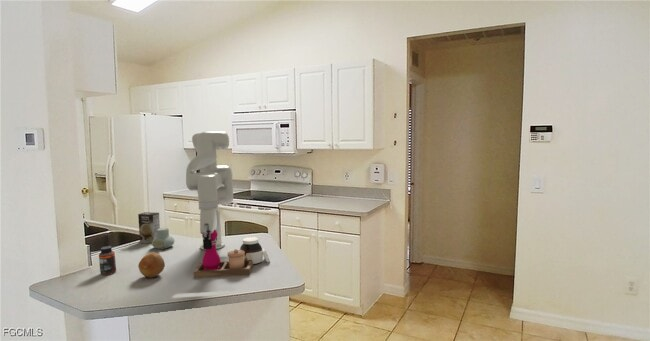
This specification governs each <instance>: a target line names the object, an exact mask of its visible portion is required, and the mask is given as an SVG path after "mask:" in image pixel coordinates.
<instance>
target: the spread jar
mask: <svg viewBox="0 0 650 341" xmlns="http://www.w3.org/2000/svg"><path fill="white" fill-rule="evenodd" d="M239 250H243V251H245V254H244V260H252V263H253V266H256V265H259V264H261V263H262V262H263V261H264V260H265V261H266V263H270V262H271V260H270V258H269V254H268V253H267V251H266V249H265V248H262V246H261V244H260V243H259V238H258V237H255V236H251V237H245V238H243V239H242V244H241V245H240V248H239ZM263 259H264V260H263Z"/></svg>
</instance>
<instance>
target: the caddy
mask: <svg viewBox="0 0 650 341" xmlns="http://www.w3.org/2000/svg"><path fill="white" fill-rule="evenodd" d="M244 263H245V268H239V269H229V260H228V261H226V260H225V261H220V264H219V265H218V266H219V267H220V270H204V268H205V267H204V266H203V264H202V262H200V263H199V264H198V265H197V267H195V269H194V271H193V278H194V279H198V278H217V277H234V276H235V277H237V276H250V275H251V271H252V268H253V266H254V265H253V263H252V260H244Z"/></svg>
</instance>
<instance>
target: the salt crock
mask: <svg viewBox="0 0 650 341" xmlns="http://www.w3.org/2000/svg"><path fill="white" fill-rule="evenodd" d="M244 254H245V251H243V250H240V249H234V250H231V251H228V252H227V257H228V261H229V269H239V268H245V263H244Z"/></svg>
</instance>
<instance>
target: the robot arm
mask: <svg viewBox="0 0 650 341" xmlns="http://www.w3.org/2000/svg"><path fill="white" fill-rule="evenodd" d="M229 137H230V136H229V134H228V133H227V132H226V131H218V130H217V131H212V130H211V131H202V132H199V133H194V134H193V135H192V138H191V141H192V144H193V147H194V149H195V151H196V156H194V157H193V158H192V159H191V160H190V161H189V163H188V164H187V167H186V170H185V171H186V172H185V184H186V187H187V188H186V189H188V190H189V191H194V192H195V191H197V199H198V210H199V211H200V214H199V215H200V216H199V226H200V227H199V230H200V231H199V233H200V234H201V235H202V234H203V237H202V243H201V244H200V245H199V249H201V250H204V251H205V249H212V239H211V234H212V233H213V232H214V230H216V231H217V237H216V242H217V243H216V250H217V249H222V248H224V247H225V246H226V243H225V242H224V241H222V224H221V223H222V222H221V219H222V218H221V212H220V210H219V209H218V208H219V206H220V205H229V204H232V203H233V202H234V184H233V172H232V169H231V167H230V166H228V165H218V164H217V162H218V161H217V158H218V156H217V150H227V149H228V148H229V146H230V138H229ZM197 171H199V172H197ZM222 185H223V186H222ZM208 227H209V228H208ZM208 234H209V236H208Z"/></svg>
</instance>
